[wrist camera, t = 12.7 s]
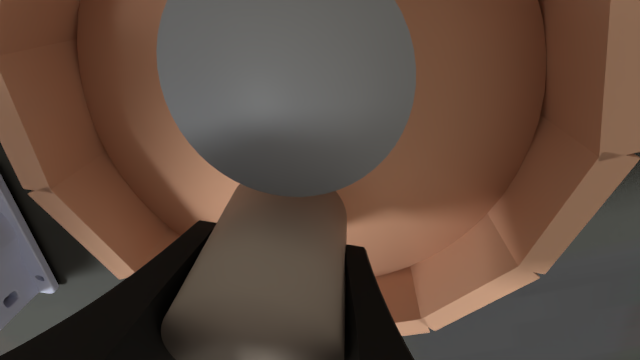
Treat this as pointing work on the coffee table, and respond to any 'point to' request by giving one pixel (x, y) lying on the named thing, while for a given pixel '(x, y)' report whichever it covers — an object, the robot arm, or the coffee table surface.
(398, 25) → the slate stone
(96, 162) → the bowl
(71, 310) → the coffee table surface
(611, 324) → the coffee table surface
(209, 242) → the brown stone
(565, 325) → the coffee table surface
